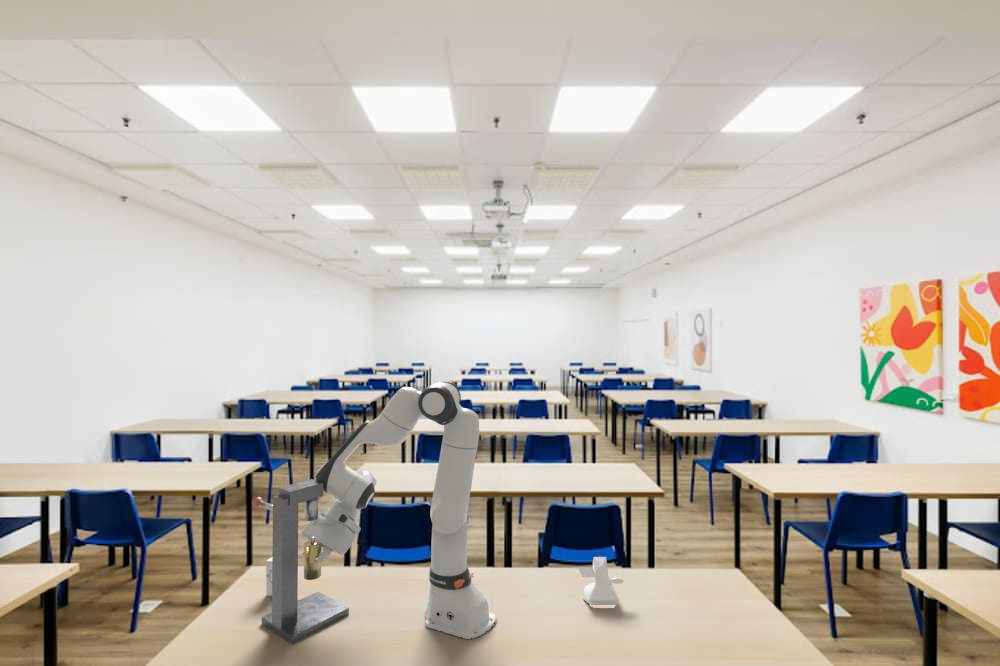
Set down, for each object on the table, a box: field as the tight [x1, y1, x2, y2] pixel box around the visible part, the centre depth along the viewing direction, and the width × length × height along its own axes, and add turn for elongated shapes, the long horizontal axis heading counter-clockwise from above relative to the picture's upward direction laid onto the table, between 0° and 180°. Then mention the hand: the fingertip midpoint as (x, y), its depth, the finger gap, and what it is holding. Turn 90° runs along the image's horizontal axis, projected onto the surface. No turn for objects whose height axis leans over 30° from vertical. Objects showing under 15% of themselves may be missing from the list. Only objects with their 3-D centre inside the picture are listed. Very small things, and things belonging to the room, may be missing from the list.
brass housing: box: [303, 536, 322, 581], centre depth 158 cm, size 5×5×12 cm
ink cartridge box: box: [265, 556, 272, 597], centre depth 173 cm, size 9×5×15 cm, turn 168°
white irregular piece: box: [578, 556, 625, 606], centre depth 168 cm, size 8×14×14 cm, turn 91°
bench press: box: [251, 478, 350, 645], centre depth 159 cm, size 25×19×41 cm
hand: (311, 559), depth 158 cm, fingers closed on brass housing, 5 cm apart
